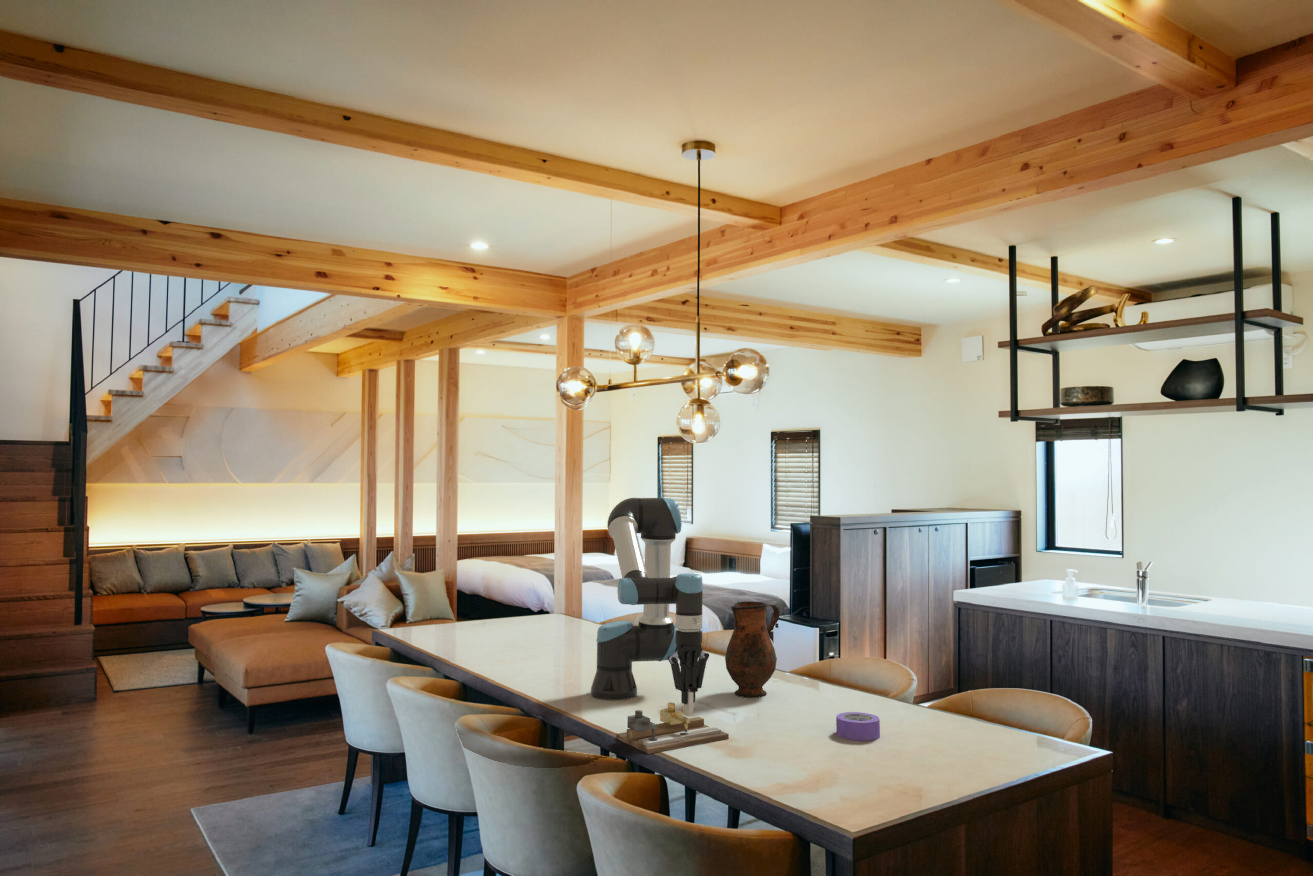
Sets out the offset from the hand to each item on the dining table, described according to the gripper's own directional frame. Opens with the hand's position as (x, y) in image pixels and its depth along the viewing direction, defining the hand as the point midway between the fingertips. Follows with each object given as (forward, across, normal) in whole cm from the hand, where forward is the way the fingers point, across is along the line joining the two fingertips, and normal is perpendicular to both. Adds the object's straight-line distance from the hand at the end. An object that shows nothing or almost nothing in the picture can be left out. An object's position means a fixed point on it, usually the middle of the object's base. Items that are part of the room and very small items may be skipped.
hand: (688, 715), depth 237 cm
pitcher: (+5, +45, +26) cm, 52 cm away
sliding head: (+2, -6, -3) cm, 7 cm away
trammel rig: (+5, -7, -3) cm, 9 cm away
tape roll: (+5, +39, -26) cm, 47 cm away
